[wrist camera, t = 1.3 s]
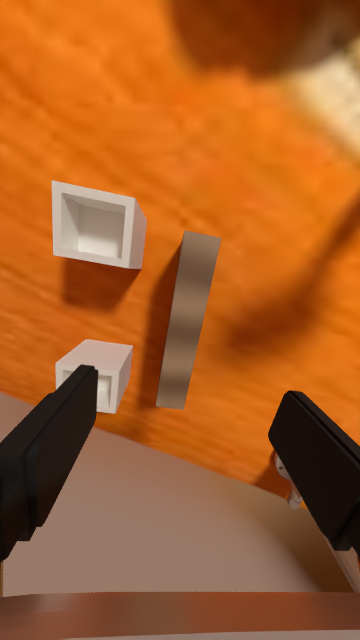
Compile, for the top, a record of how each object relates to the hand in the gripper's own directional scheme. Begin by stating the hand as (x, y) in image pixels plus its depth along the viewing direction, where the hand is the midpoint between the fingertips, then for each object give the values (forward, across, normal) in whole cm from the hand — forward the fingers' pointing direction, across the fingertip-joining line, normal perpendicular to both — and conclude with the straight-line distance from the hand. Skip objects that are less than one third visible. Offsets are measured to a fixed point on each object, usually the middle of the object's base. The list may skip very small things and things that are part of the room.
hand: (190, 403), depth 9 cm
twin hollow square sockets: (+18, +9, 0) cm, 20 cm away
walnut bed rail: (+18, -1, 0) cm, 18 cm away
